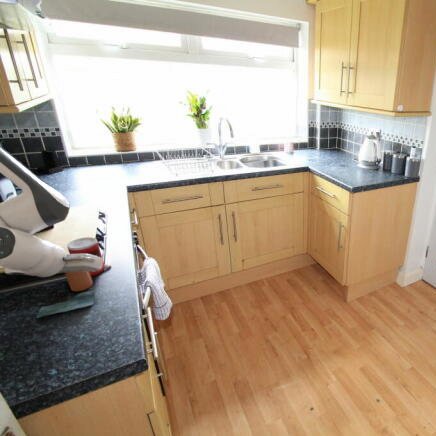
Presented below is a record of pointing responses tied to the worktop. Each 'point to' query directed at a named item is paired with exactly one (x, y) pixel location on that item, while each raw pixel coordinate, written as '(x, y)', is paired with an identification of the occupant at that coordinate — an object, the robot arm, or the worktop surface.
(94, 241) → the canned food
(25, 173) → the robot arm
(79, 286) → the terracotta pot
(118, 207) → the worktop surface
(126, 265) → the worktop surface
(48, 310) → the terrain model
